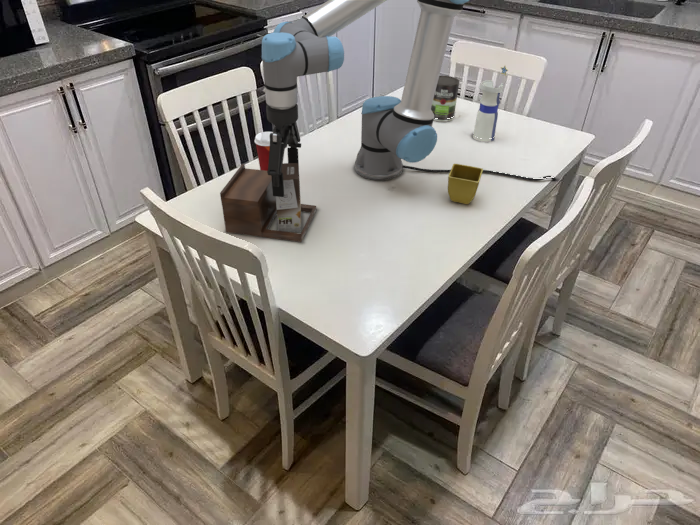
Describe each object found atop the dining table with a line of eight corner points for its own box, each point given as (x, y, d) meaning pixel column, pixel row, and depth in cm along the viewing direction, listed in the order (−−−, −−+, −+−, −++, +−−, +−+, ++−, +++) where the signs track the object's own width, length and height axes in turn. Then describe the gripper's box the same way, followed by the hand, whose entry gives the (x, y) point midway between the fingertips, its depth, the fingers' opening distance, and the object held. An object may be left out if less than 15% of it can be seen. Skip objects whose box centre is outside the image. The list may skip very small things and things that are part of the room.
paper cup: (278, 185, 164) (275, 143, 155) (255, 182, 165) (250, 140, 156) (286, 173, 170) (283, 131, 161) (263, 170, 171) (259, 129, 162)
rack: (316, 210, 153) (315, 172, 146) (301, 242, 141) (299, 202, 133) (246, 201, 156) (242, 164, 149) (226, 232, 144) (219, 193, 136)
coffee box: (301, 232, 144) (299, 179, 134) (278, 233, 144) (273, 180, 134) (301, 213, 152) (298, 162, 142) (278, 214, 151) (274, 163, 141)
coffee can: (454, 123, 202) (459, 86, 193) (426, 120, 203) (430, 84, 194) (454, 112, 210) (459, 76, 201) (428, 110, 211) (432, 74, 202)
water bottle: (477, 130, 197) (488, 60, 182) (498, 136, 193) (512, 66, 178) (467, 137, 192) (478, 67, 176) (489, 144, 188) (502, 72, 173)
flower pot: (478, 194, 161) (483, 167, 155) (474, 209, 154) (479, 182, 149) (449, 189, 163) (453, 162, 158) (444, 203, 157) (447, 176, 151)
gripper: (282, 84, 137) (286, 159, 150) (248, 123, 118) (256, 205, 131) (310, 87, 136) (312, 162, 149) (281, 126, 117) (286, 209, 130)
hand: (286, 182), depth 140 cm, fingers open, 13 cm apart
